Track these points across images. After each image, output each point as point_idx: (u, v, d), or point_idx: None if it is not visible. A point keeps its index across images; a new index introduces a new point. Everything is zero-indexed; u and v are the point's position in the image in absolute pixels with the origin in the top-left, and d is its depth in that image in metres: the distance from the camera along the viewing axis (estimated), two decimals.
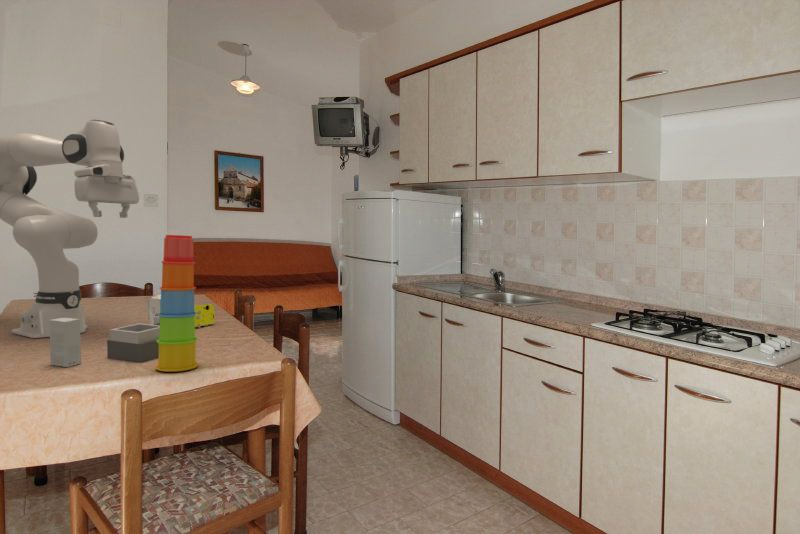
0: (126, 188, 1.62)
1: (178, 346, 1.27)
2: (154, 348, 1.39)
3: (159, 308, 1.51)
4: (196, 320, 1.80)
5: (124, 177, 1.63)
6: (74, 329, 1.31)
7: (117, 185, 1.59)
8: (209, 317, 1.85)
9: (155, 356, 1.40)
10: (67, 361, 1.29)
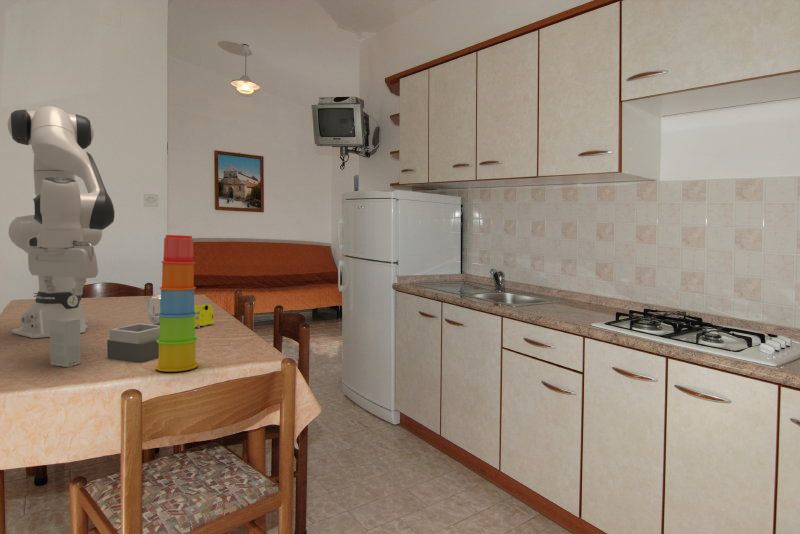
0: (72, 259, 1.27)
1: (178, 346, 1.27)
2: (154, 348, 1.39)
3: (159, 308, 1.51)
4: (195, 320, 1.80)
5: (78, 244, 1.27)
6: (74, 329, 1.31)
7: (62, 256, 1.28)
8: (208, 317, 1.85)
9: (155, 356, 1.40)
10: (67, 361, 1.29)
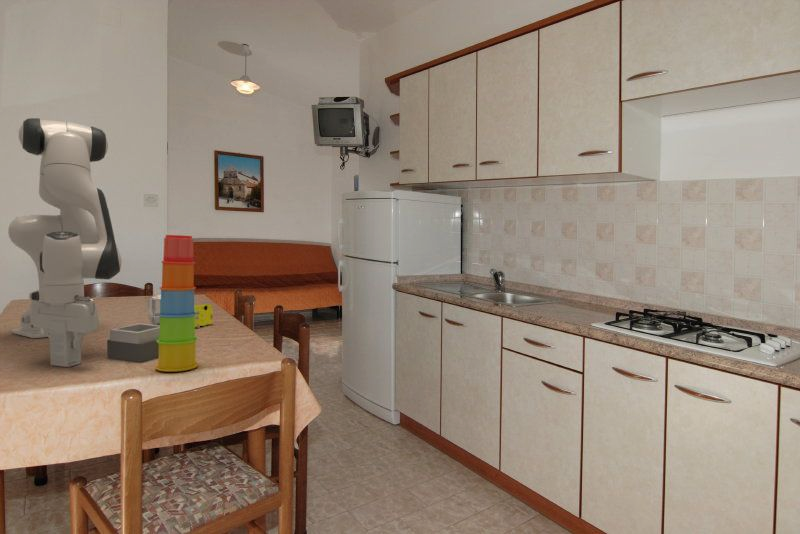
0: (74, 314, 1.28)
1: (178, 346, 1.27)
2: (154, 348, 1.39)
3: (159, 308, 1.51)
4: (195, 320, 1.80)
5: (79, 299, 1.28)
6: None
7: (64, 311, 1.29)
8: (207, 317, 1.85)
9: (155, 356, 1.40)
10: (67, 361, 1.29)
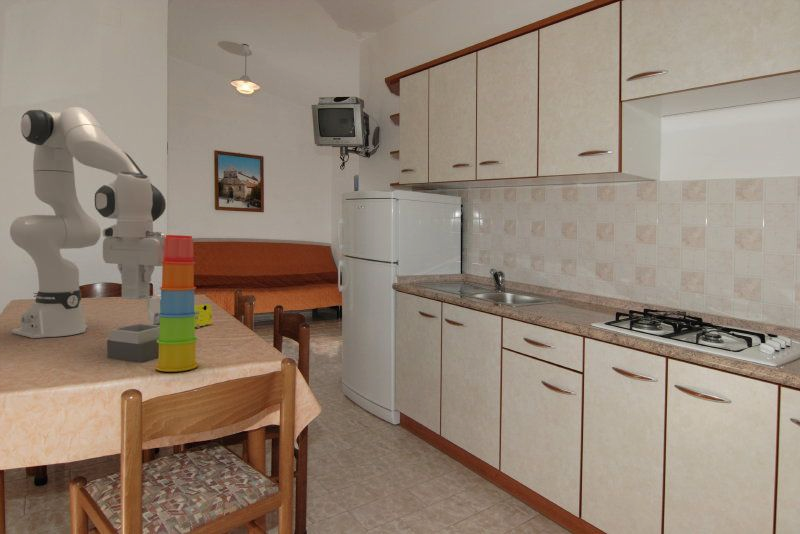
0: (146, 248, 1.36)
1: (178, 346, 1.27)
2: (154, 348, 1.39)
3: (159, 308, 1.51)
4: (195, 320, 1.80)
5: (151, 235, 1.37)
6: None
7: (136, 245, 1.37)
8: (207, 317, 1.85)
9: (155, 356, 1.40)
10: (138, 294, 1.37)
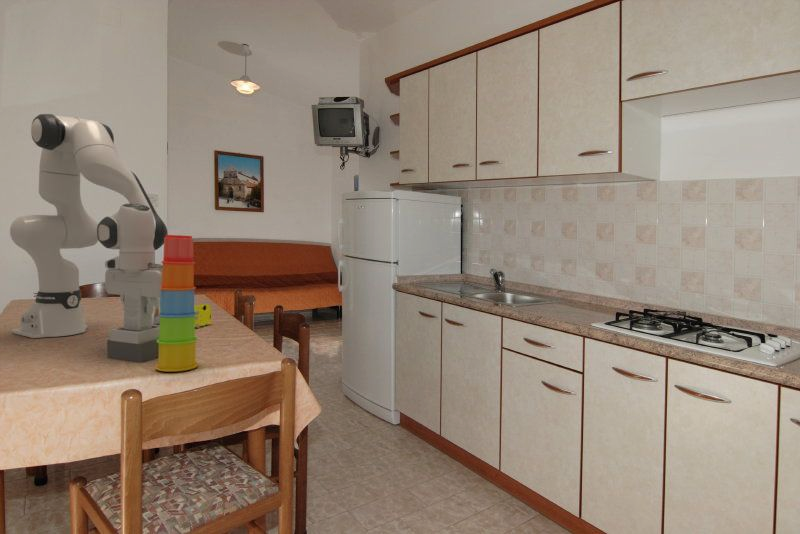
0: (148, 280, 1.37)
1: (178, 346, 1.27)
2: (154, 348, 1.39)
3: (159, 308, 1.51)
4: None
5: (153, 266, 1.38)
6: None
7: (138, 277, 1.38)
8: (206, 317, 1.85)
9: (155, 356, 1.40)
10: (140, 325, 1.39)
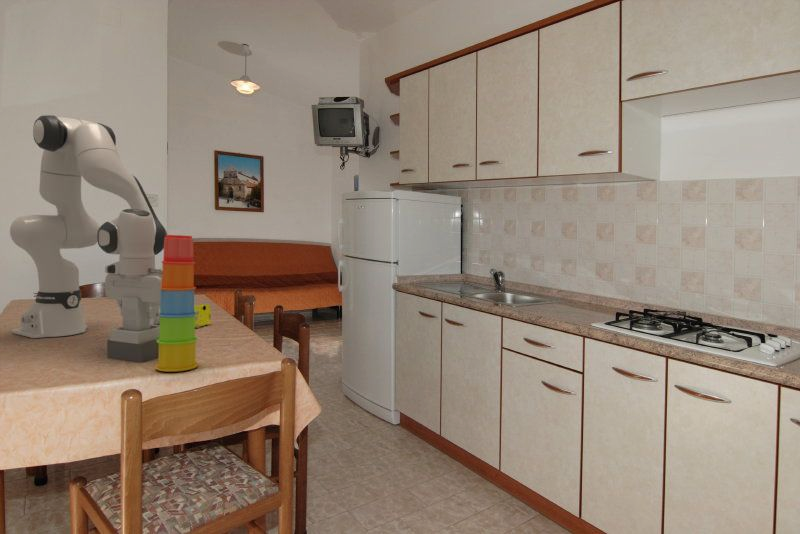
0: (148, 286, 1.37)
1: (178, 346, 1.27)
2: (154, 348, 1.39)
3: (159, 308, 1.51)
4: None
5: (153, 272, 1.38)
6: (145, 305, 1.40)
7: (138, 282, 1.38)
8: (206, 317, 1.85)
9: (155, 356, 1.40)
10: None
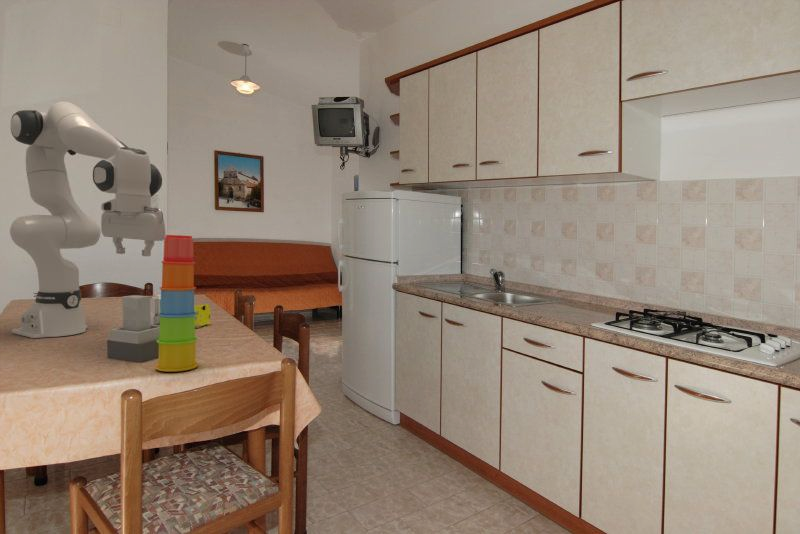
0: (143, 223, 1.39)
1: (178, 346, 1.27)
2: (154, 348, 1.39)
3: (159, 308, 1.51)
4: None
5: (148, 210, 1.40)
6: (145, 305, 1.40)
7: (134, 220, 1.40)
8: (205, 317, 1.85)
9: (155, 356, 1.40)
10: None
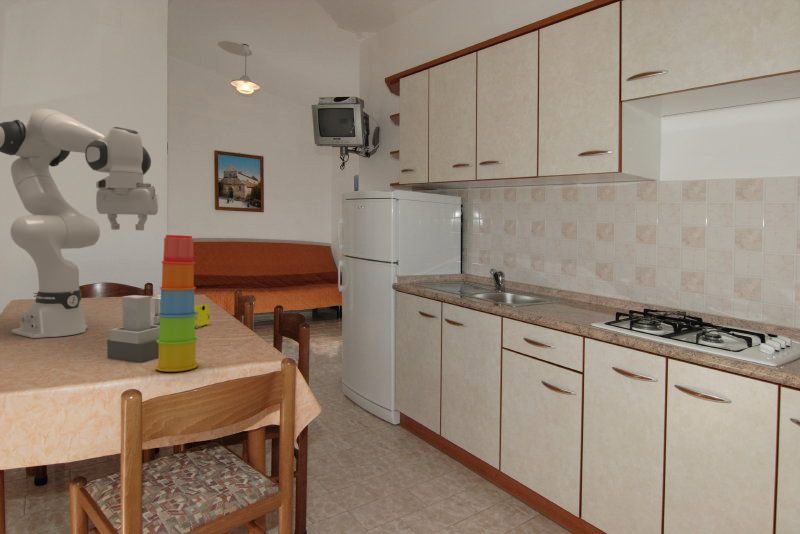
0: (136, 198, 1.47)
1: (178, 346, 1.27)
2: (154, 348, 1.39)
3: (159, 308, 1.51)
4: None
5: (141, 186, 1.47)
6: (145, 305, 1.40)
7: (127, 196, 1.48)
8: (205, 317, 1.85)
9: (155, 356, 1.40)
10: None
